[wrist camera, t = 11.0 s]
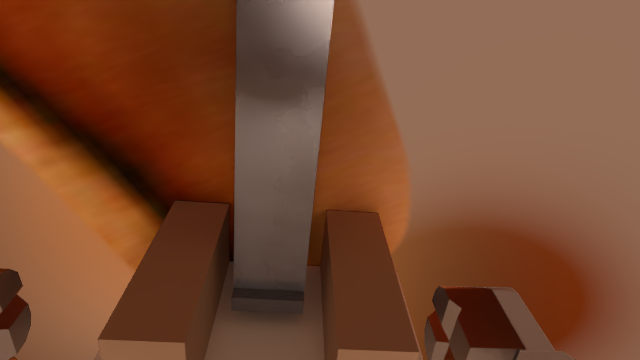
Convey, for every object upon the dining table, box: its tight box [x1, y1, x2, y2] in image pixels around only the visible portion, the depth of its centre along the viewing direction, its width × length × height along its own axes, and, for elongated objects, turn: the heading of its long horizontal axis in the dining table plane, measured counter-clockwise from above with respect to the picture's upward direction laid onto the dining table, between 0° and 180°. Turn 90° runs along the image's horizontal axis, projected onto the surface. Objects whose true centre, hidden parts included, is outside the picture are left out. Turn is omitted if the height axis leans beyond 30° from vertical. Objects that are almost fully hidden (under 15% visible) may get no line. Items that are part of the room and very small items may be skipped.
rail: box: [231, 0, 334, 314], centre depth 20 cm, size 17×4×5 cm, turn 174°
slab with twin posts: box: [94, 201, 423, 360], centre depth 19 cm, size 6×15×14 cm, turn 85°
